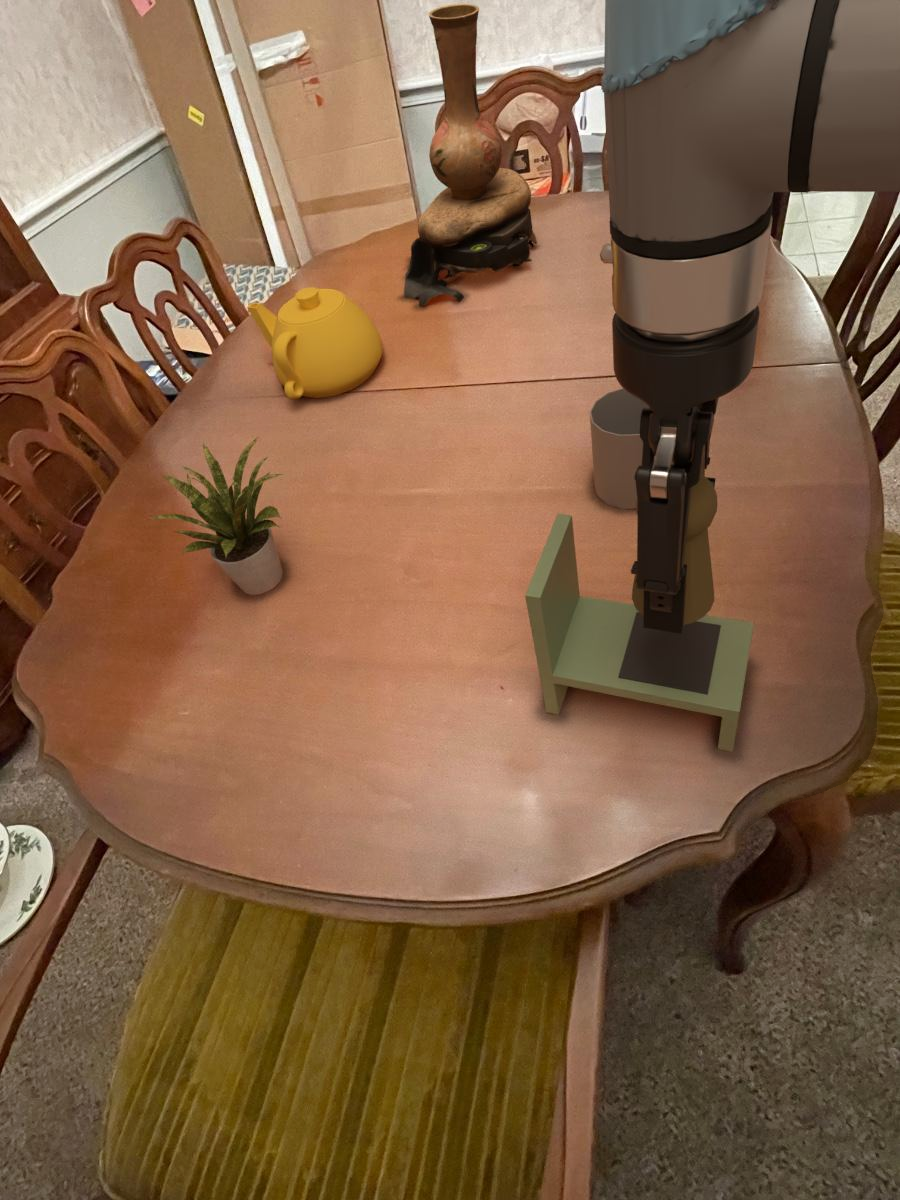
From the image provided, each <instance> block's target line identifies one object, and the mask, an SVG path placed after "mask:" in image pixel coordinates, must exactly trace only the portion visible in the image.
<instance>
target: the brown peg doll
mask: <svg viewBox="0 0 900 1200" xmlns="http://www.w3.org/2000/svg"><path fill="white" fill-rule="evenodd" d="M706 477H707V476H706V475H705V476H704V475H703V474H701V476H700V479H699V482H698V483H697V484H696V485H695V486H692V490H691V499H690V509H689V518H688V528H687V537H686V547H685V556H684V564H685V565H687V576H686V592H685V607H684V623H683V625H686V624H690V623H693V622H695V621H697V620H699V619H701V618H703V617H704V616H705V615H708V613H709V612H710V611H711V610H712V607H713V605H714V602H715V588H714V578H713V577H714V576H713V568H712V557H711V548H710V540H709V531H708V528H709V527H710V526H711V525H712V524H713V523H712V522H713V521H714V519H715V516H716V514H717V512H718V494H717V491H716V488H715V487H713V485H712V483H711V482H710V481H709V480H708V479H707V478H706ZM635 510H636V512H635V513H636V515H637V516H638V499H637V501H636V509H635ZM636 577H637V575H635V574H634V578H633V583H632V589H631V601H632V604H634V606H635V608H636V609H637V610H638V612H639V613H640V614H641V615H642V616H643V617H644V590H638V589H637V587H636V586H637V584H636Z"/></svg>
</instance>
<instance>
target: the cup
mask: <svg viewBox="0 0 900 1200" xmlns="http://www.w3.org/2000/svg"><path fill="white" fill-rule="evenodd" d="M643 408H649V406H648V405H647V404H646V403H645V402H643V401H642V400H640V399H639V398H637V397H635V396H633V395H631V394H630V393H628V392H627V391H626V390H625V389H624V388H623V387H621V388H618V389H615V390H612V391H608V392H606V393H605V394H603V395H602V396H601V397H599V398H598V399H596V400H595V401H594V403H593V405H592V407H591V408H590V410H589V422H590V424H589V425H590V438H591V453H592V454H591V455H592V468H593V484H594V488H595V493H596V497H598V498H599V499H601V501H603V502H604V503H605V504H606V505H609V506H612V507H615V508H617V509H621V510H629V509H630V510H636V501H637V490H636V480H635V472H636V471H637V468H638V467H639V465H642V453H643V441H642V439H641V438H640V419H641V413H642V410H643ZM654 460H655V456H654Z"/></svg>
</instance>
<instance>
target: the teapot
mask: <svg viewBox="0 0 900 1200" xmlns="http://www.w3.org/2000/svg"><path fill="white" fill-rule="evenodd" d="M246 308H247V310H248V312H249V314H250V315H251V317H252V318H253V320H254V322H255V324H257V327H258V329H259V330H260V332H261V333H262V335H263V336H264V337H263V338H264V339H265V340H266V342H267V343H268V345H269V346H270V349H271V358H272V366H273V369H274V373H275V375H276V378H277V380H278V381H279V382H280V383H281V385H282V386H283V387H284V394H285V396H286V397H287V398H289V399H290V400H297V399H299V398H301V397H302V396H304V397H307V398H318V399H319V398H329V397H334V396H338V395H341V394H344V393H347V392H349V391H352V390H353V389H356V388H357V387H359V386H360V385H361V384H363V383H365V382H366V381H367V380H368V379H369V378H370V377H371V376H372V374H373V373H374V372H375V370H376V368H377V367H378V365H379V363H380V361H381V358H382V356H383V351H384V344H383V340H382V337H381V335H380V332H379V330H378V329H377V327H376V324H375V323H374V322H373V320H372V318H370V317H369V315H368V314H367V313H366V312H365V311H364V310H363V309H362V308H361V307H360V306H359V305H358V304H357V303H356V302H355V301H354V300H352V299H351V298H350V297H349V296H347V295H346V294H344V293H343V292H341V291H340V290H337V289H334V288H318V287H316V286H308V287H304V288H301V289H299V290H298V291H297V292H296V293H295V295H294V296H293V297H292V298H290V299H288V301H286V302H285V303H284V304H283V305H282V306H281V308H280V309H279V310H278V313H277V316H276V314H274V313H273V312H272V311H270V310H269V309H268V308H267V307H265V306H264V305H263V303H262V302H254V301H253V302H251V303H250V304H249V305H248V306H247V307H246Z"/></svg>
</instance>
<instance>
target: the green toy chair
mask: <svg viewBox="0 0 900 1200" xmlns="http://www.w3.org/2000/svg"><path fill="white" fill-rule="evenodd" d="M524 597H525V603H526V608H527V614H528V620H529V624H530V630H531V636H532V642H533V646H534V653H535V659H536V664H537V669H538V675H539V681H540V685H541V690H542V695H543V703H544V707H545V712H546V713H549V714H554V715H560V712H561V709H562V707H563V703H564V700H565V697H566V693H567V691H568V687H570V688H576V689H580V690H585V691H590V692H595V693H600V694H606V695H610V696H616V697H619V698H620V697H621V698H626V699H630V700H636V701H641V702H645V703H646V702H647V703H651V704H657V705H661V706H665V707H670V708H676V709H680V710H681V709H682V710H686V711H691V712H696V713H701V714H706V715H712V716H716V717H721V721H720V730H719V736H718V743H717V744H718V745H717V750H722V751H725V752H730V753H733V752H734V748H735V742H736V736H737V730H738V725H739V718H740V712H741V706H742V702H743V701H742V699H743V695H744V688H745V682H746V676H747V675H746V674H747V671H748V670H747V669H748V663H749V657H750V652H751V651H750V650H751V645H752V640H753V639H752V638H753V633H754V627H755V622H754V621H749V620H748V621H747V620H740V619H734V618H727V617H721V616H713V615H709V614H706V615H705V616H704V617H703V618H701V619H699V620H697V621H695V622H693V623H690V624H686V625H683V629H682V634H679V633H673V632H667V631H661V630H655V629H649V628H644V617H643V616H642V615H641V614H640V613H639V612H638V610H637V609H636V608H635V606H634V603H629V602H623V601H616V600H609V599H603V598H595V597H589V596H583V595H580V584H579V574H578V565H577V554H576V545H575V533H574V524H573V515H572V514H567V513H566V514H565V513H556V517H555V519H554V522H553V525H552V527H551V529H550V532H549V534H548V536H547V539H546V541H545V544H544V547H543V549H542V551H541V554H540V556H539V559H538V562H537V564H536V567H535V570H534V572H533V575H532V577H531V579H530V581H529V584H528V586H527V589H526V591H525V594H524Z"/></svg>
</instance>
